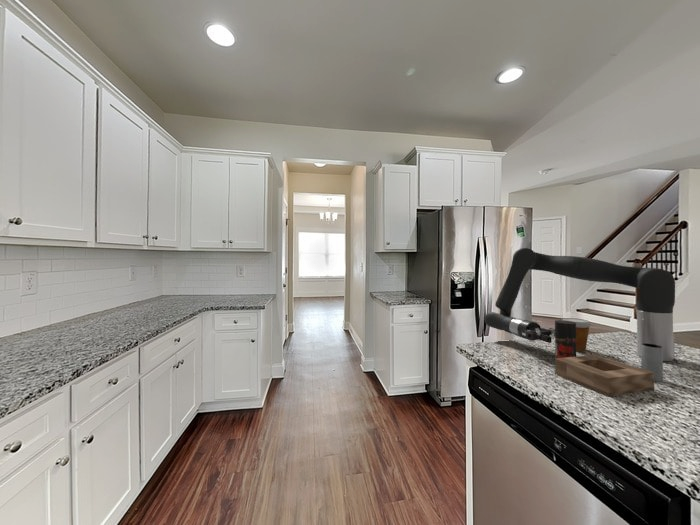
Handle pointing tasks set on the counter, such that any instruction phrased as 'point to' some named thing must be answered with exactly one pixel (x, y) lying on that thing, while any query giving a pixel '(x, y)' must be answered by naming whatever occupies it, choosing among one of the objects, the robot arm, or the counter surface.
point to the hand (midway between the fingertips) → (560, 339)
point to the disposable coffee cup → (580, 332)
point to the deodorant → (565, 339)
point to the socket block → (605, 375)
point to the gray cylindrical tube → (652, 360)
